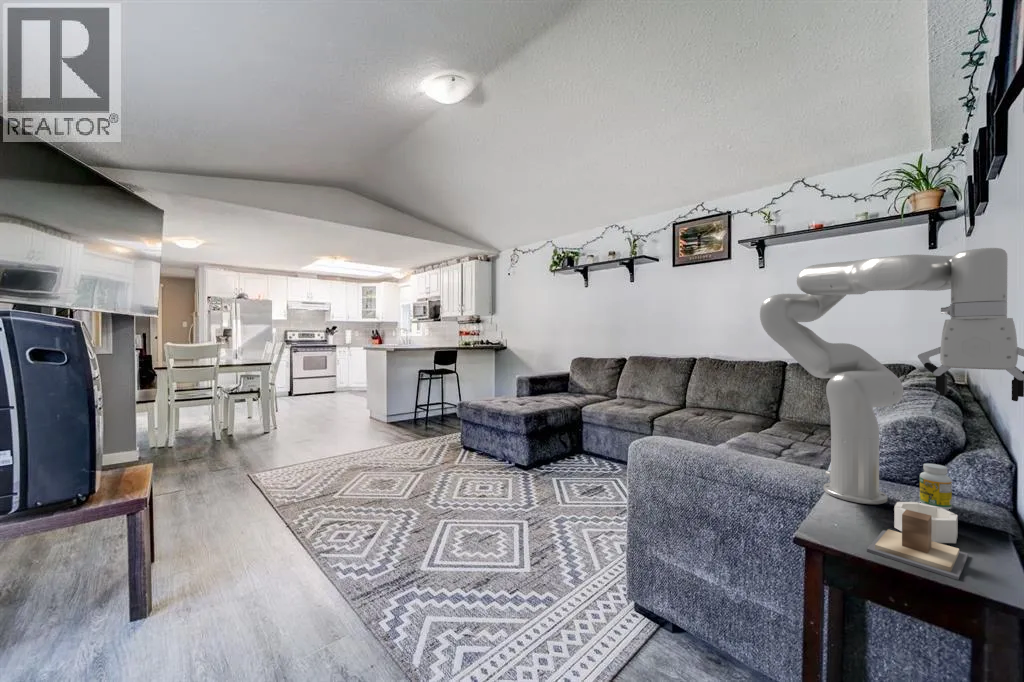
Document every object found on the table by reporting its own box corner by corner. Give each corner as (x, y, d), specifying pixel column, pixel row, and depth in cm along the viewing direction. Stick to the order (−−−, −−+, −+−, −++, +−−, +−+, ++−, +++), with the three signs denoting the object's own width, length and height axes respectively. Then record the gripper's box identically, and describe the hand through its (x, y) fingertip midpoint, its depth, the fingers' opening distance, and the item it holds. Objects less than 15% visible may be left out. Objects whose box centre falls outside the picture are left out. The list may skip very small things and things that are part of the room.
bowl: (884, 521, 92) (884, 501, 92) (928, 522, 91) (928, 502, 91) (921, 542, 83) (921, 519, 83) (970, 543, 82) (970, 520, 82)
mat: (866, 551, 80) (866, 548, 80) (883, 532, 87) (883, 530, 87) (958, 580, 70) (958, 577, 70) (968, 556, 78) (968, 553, 78)
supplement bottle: (958, 511, 97) (958, 469, 97) (933, 510, 97) (933, 469, 97) (937, 501, 102) (937, 462, 102) (913, 501, 103) (913, 462, 103)
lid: (875, 548, 80) (875, 513, 80) (888, 533, 86) (888, 500, 86) (950, 572, 72) (950, 532, 72) (959, 552, 78) (959, 516, 78)
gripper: (914, 313, 88) (914, 394, 89) (1048, 309, 74) (1047, 405, 75) (921, 314, 93) (921, 391, 93) (1048, 310, 79) (1048, 400, 79)
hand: (977, 397), depth 84 cm, fingers open, 9 cm apart
